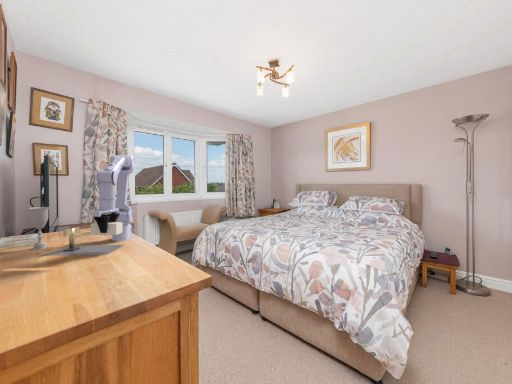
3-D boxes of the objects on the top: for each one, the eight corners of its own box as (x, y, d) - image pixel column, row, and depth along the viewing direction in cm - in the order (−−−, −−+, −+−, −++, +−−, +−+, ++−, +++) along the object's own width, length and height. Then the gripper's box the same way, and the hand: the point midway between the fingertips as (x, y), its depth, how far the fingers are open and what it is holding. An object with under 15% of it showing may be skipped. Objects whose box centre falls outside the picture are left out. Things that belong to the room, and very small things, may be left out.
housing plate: (69, 247, 103) (69, 244, 103) (125, 246, 106) (125, 243, 106) (41, 258, 89) (41, 254, 88) (106, 257, 91) (106, 253, 91)
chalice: (33, 246, 104) (32, 207, 103) (52, 245, 107) (52, 206, 106) (25, 251, 97) (24, 208, 97) (46, 249, 100) (45, 208, 99)
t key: (62, 250, 93) (62, 229, 93) (87, 242, 106) (87, 224, 105) (66, 250, 93) (66, 230, 93) (90, 242, 105) (90, 224, 105)
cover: (98, 232, 99) (98, 222, 99) (122, 232, 100) (122, 222, 99) (90, 234, 94) (90, 224, 94) (116, 234, 95) (116, 223, 94)
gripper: (107, 198, 103) (107, 228, 104) (85, 200, 89) (86, 235, 89) (123, 198, 104) (123, 228, 104) (104, 200, 89) (105, 235, 90)
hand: (107, 231), depth 97 cm, fingers closed on cover, 5 cm apart
